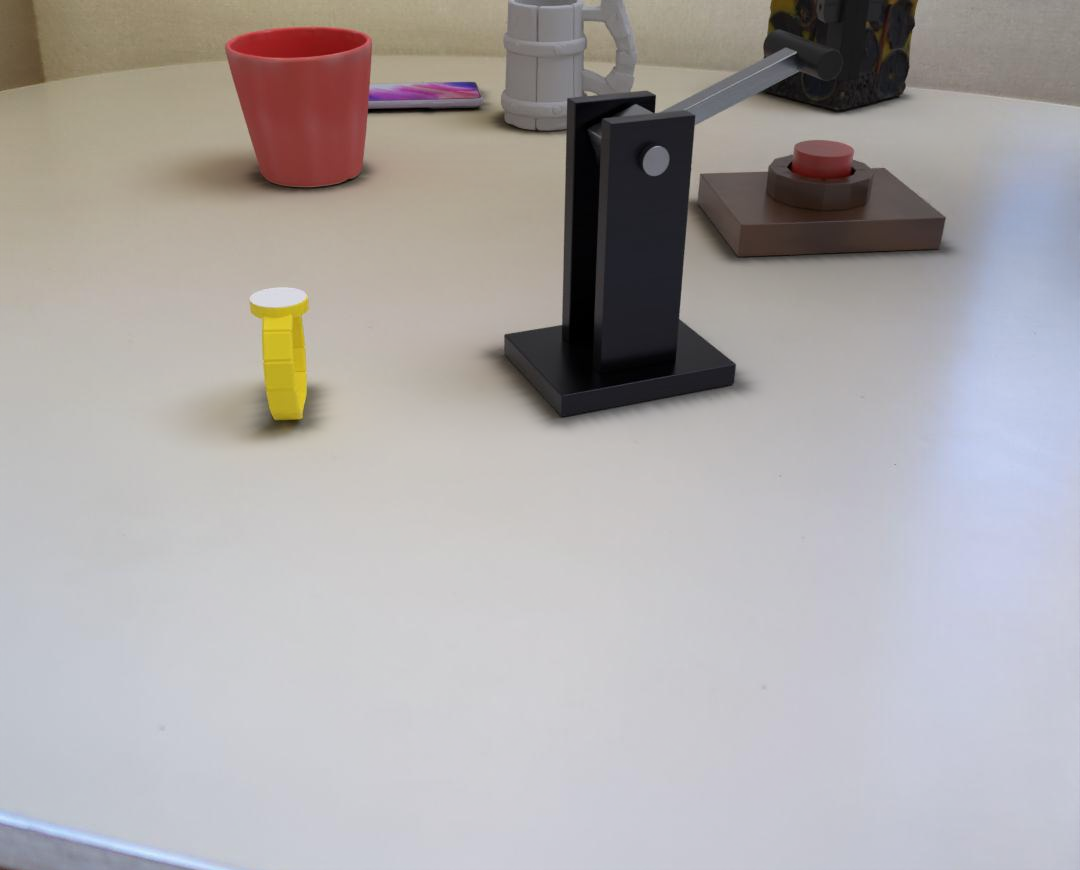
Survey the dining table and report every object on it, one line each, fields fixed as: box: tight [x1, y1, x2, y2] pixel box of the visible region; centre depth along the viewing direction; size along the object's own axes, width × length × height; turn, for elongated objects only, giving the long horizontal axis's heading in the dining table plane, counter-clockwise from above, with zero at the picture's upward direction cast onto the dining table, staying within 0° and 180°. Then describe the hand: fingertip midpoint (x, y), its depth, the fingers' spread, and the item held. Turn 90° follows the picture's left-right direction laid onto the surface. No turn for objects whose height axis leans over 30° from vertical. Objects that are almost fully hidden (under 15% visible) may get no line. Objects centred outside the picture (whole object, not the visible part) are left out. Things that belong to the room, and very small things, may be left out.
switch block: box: [697, 154, 947, 258], centre depth 84 cm, size 14×11×4 cm
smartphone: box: [368, 81, 484, 110], centre depth 111 cm, size 7×1×15 cm
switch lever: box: [588, 30, 843, 168], centre depth 59 cm, size 12×5×2 cm, turn 113°
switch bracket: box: [503, 90, 737, 417], centre depth 61 cm, size 10×8×14 cm
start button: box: [791, 139, 855, 179], centre depth 82 cm, size 4×4×2 cm
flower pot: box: [224, 26, 373, 188], centre depth 91 cm, size 11×11×10 cm
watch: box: [249, 286, 310, 421], centre depth 59 cm, size 6×3×6 cm, turn 5°
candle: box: [762, 0, 919, 111], centre depth 113 cm, size 10×10×10 cm
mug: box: [500, 0, 638, 132], centre depth 103 cm, size 8×12×12 cm, turn 81°
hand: (840, 74), depth 79 cm, fingers closed
